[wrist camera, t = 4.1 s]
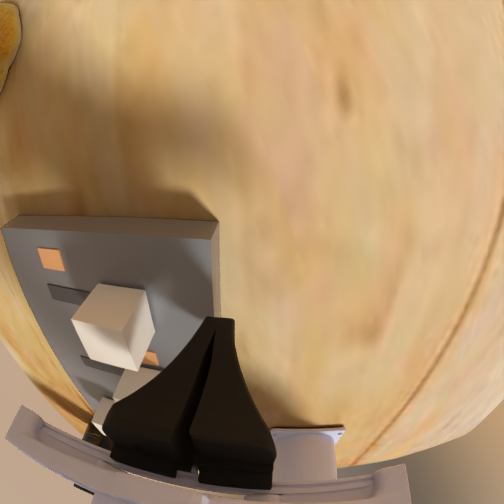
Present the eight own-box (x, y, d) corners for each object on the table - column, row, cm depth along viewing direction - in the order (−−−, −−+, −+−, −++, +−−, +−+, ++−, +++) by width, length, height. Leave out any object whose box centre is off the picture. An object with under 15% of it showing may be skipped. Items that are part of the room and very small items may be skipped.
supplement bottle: (92, 428, 33) (71, 485, 22) (87, 414, 29) (61, 479, 19) (130, 444, 33) (112, 503, 23) (130, 433, 30) (108, 501, 20)
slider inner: (138, 419, 22) (130, 443, 19) (112, 411, 22) (103, 434, 19) (129, 405, 20) (119, 431, 18) (102, 396, 21) (91, 421, 18)
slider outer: (155, 331, 15) (137, 371, 12) (111, 323, 15) (90, 359, 12) (145, 290, 13) (121, 330, 11) (98, 283, 14) (70, 318, 11)
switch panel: (226, 428, 25) (224, 444, 23) (101, 400, 26) (95, 414, 24) (218, 221, 14) (210, 240, 12) (18, 215, 14) (-1, 228, 12)
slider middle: (173, 394, 18) (164, 427, 16) (137, 386, 18) (125, 417, 16) (166, 372, 17) (154, 408, 14) (127, 363, 17) (112, 397, 14)
